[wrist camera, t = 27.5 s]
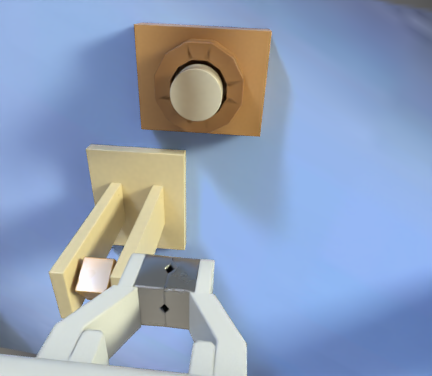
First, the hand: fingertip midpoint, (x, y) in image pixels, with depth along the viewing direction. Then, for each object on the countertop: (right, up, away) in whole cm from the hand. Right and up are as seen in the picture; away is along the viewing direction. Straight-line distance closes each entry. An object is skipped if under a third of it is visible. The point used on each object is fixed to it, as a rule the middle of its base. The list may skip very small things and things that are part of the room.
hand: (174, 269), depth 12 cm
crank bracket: (-6, +2, +22) cm, 23 cm away
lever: (-7, -5, +16) cm, 18 cm away
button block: (0, +12, +16) cm, 20 cm away
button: (0, +10, +12) cm, 16 cm away
